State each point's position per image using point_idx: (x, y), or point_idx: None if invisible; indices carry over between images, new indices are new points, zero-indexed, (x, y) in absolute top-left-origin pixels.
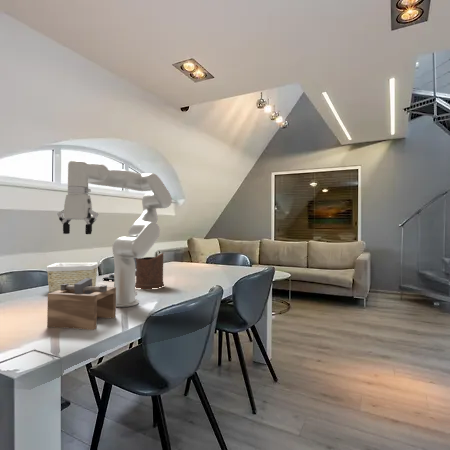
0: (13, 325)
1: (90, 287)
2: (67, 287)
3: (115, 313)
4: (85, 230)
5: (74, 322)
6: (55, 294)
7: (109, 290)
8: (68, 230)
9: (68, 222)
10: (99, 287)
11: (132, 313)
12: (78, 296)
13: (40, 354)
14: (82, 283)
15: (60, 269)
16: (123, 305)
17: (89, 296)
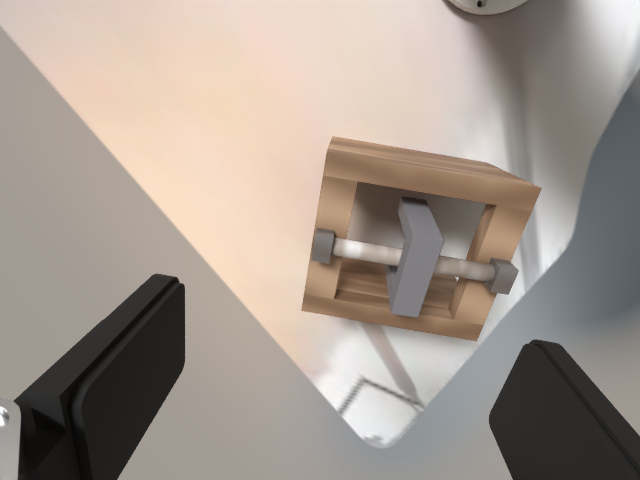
0: (217, 248)
1: (444, 273)
2: (340, 256)
3: (491, 165)
4: (508, 468)
5: None
6: (331, 314)
7: (516, 243)
8: (160, 332)
9: (26, 462)
10: (485, 280)
11: (546, 113)
12: (418, 328)
13: (385, 396)
14: (421, 304)
15: None
16: (503, 10)
17: (459, 336)
